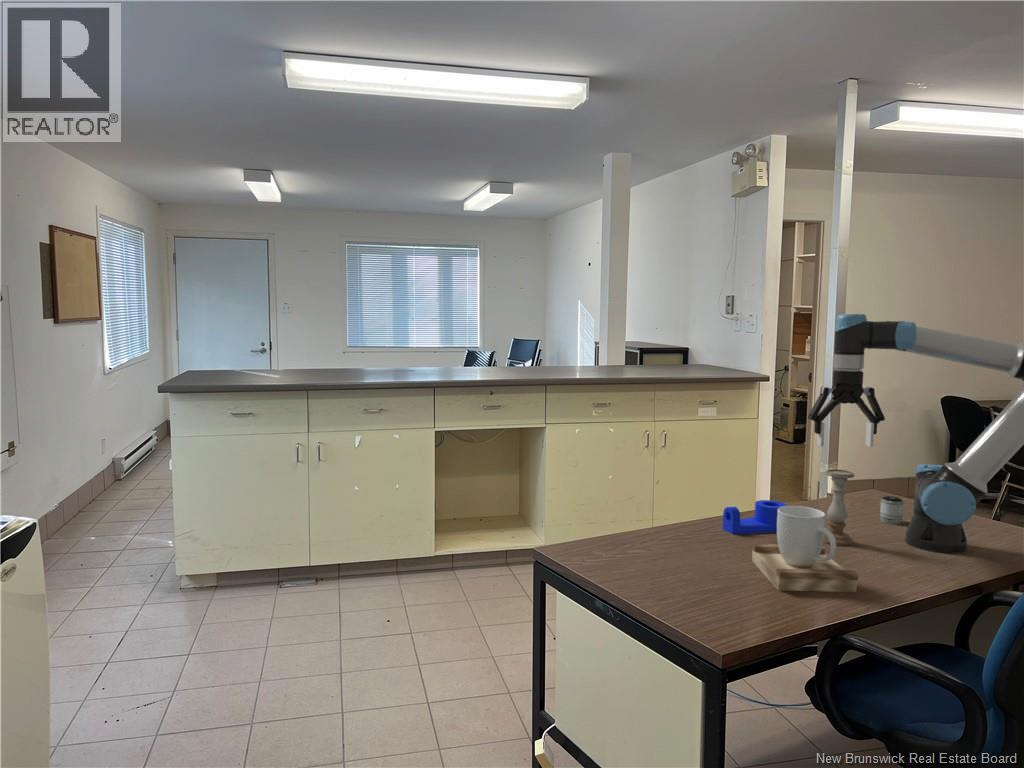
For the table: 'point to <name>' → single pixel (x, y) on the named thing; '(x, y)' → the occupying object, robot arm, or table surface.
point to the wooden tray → (802, 572)
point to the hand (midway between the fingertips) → (844, 445)
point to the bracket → (753, 518)
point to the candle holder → (838, 507)
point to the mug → (802, 535)
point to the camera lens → (891, 510)
